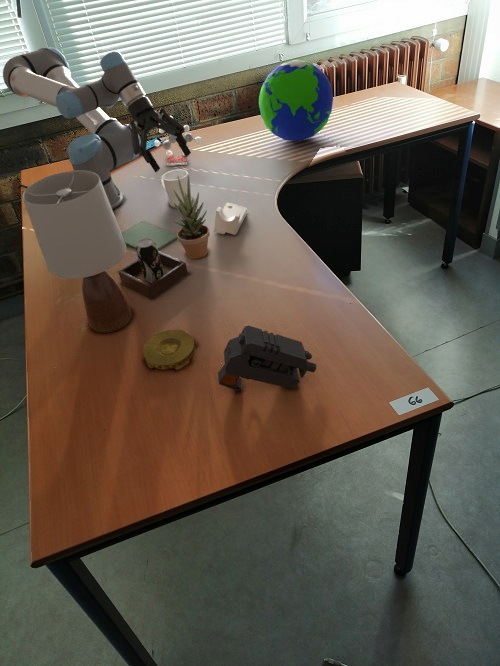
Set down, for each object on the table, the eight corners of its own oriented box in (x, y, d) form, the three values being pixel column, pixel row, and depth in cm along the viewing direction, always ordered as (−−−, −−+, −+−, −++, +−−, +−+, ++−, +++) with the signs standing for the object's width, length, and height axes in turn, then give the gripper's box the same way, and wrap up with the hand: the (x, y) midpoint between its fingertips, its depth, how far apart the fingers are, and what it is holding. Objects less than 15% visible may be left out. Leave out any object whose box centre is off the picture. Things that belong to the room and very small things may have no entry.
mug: (197, 198, 179) (192, 170, 173) (185, 209, 174) (179, 181, 167) (172, 195, 184) (165, 167, 177) (158, 206, 178) (152, 178, 171)
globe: (304, 121, 227) (302, 47, 207) (348, 138, 206) (349, 57, 187) (248, 140, 217) (240, 64, 197) (288, 160, 196) (283, 77, 177)
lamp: (86, 299, 139) (35, 172, 115) (152, 295, 137) (114, 164, 113) (66, 345, 125) (2, 211, 101) (138, 341, 123) (92, 203, 99)
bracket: (235, 237, 158) (238, 216, 153) (213, 231, 158) (216, 210, 153) (246, 217, 167) (249, 197, 162) (225, 211, 168) (228, 191, 162)
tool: (211, 370, 109) (238, 319, 100) (290, 389, 115) (321, 343, 107) (212, 390, 104) (240, 339, 96) (294, 410, 111) (327, 363, 102)
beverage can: (154, 286, 140) (144, 250, 132) (140, 281, 143) (130, 244, 135) (169, 276, 144) (159, 239, 136) (155, 270, 146) (145, 234, 139)
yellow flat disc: (187, 373, 113) (186, 366, 112) (138, 370, 116) (135, 363, 114) (200, 337, 122) (199, 330, 121) (154, 335, 124) (152, 328, 123)
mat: (114, 239, 163) (114, 237, 163) (142, 223, 170) (142, 221, 169) (150, 254, 154) (150, 253, 153) (178, 237, 160) (178, 235, 160)
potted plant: (199, 241, 157) (184, 164, 140) (219, 251, 151) (206, 172, 135) (174, 255, 152) (155, 178, 136) (193, 266, 146) (177, 186, 130)
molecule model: (154, 173, 207) (143, 140, 194) (159, 149, 216) (149, 116, 203) (201, 170, 205) (193, 136, 192) (205, 146, 213) (198, 112, 200)
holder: (121, 283, 143) (117, 271, 141) (156, 260, 151) (153, 249, 148) (152, 298, 136) (149, 286, 134) (188, 274, 143) (185, 262, 141)
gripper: (108, 109, 150) (148, 172, 155) (170, 84, 163) (205, 143, 168) (101, 120, 157) (139, 181, 161) (161, 96, 169) (195, 153, 174)
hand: (173, 162), depth 164 cm, fingers open, 13 cm apart
